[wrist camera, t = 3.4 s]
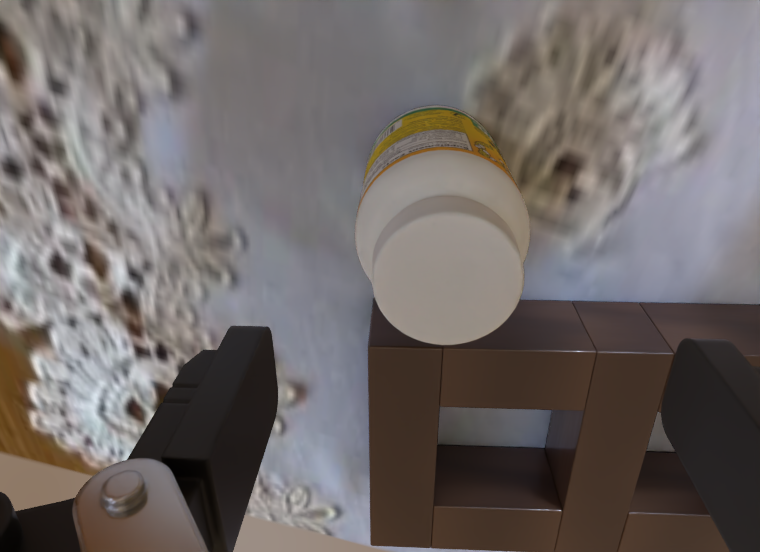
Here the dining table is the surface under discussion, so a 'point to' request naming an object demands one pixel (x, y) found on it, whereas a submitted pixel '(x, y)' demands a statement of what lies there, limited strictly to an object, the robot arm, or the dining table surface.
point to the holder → (565, 436)
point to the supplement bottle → (441, 227)
